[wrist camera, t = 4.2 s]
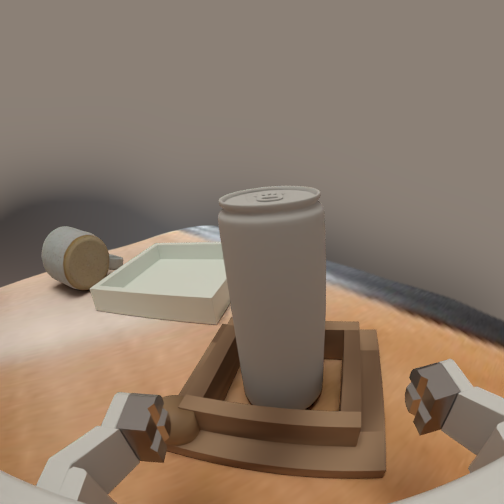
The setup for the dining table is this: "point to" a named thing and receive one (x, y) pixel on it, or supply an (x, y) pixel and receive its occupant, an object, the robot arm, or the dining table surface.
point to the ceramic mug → (77, 258)
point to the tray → (168, 284)
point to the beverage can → (277, 291)
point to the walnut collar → (285, 415)
